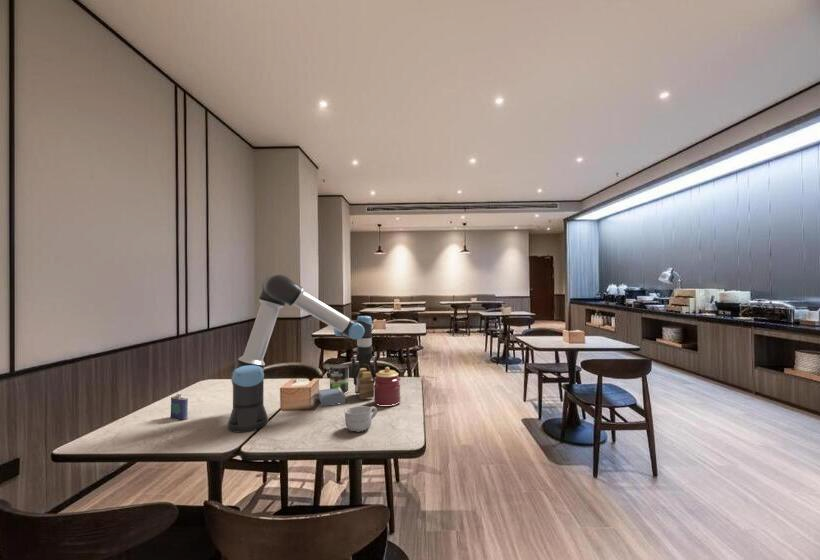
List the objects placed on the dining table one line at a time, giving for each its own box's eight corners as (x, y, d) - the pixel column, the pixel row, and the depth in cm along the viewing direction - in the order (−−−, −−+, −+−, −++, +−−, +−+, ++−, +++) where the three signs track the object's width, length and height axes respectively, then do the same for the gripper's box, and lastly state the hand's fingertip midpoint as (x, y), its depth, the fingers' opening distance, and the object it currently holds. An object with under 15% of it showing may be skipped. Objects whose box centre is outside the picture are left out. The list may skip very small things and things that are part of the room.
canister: (405, 401, 178) (405, 365, 179) (390, 409, 167) (390, 371, 168) (384, 397, 185) (384, 363, 186) (368, 404, 174) (368, 367, 175)
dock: (345, 403, 176) (345, 394, 176) (322, 406, 172) (322, 397, 172) (340, 395, 189) (340, 387, 189) (318, 398, 185) (318, 389, 185)
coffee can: (345, 395, 189) (345, 368, 190) (326, 394, 191) (326, 367, 191) (351, 389, 200) (351, 364, 200) (333, 389, 201) (333, 363, 202)
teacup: (349, 437, 136) (349, 415, 137) (341, 427, 146) (341, 407, 146) (383, 430, 143) (383, 409, 143) (373, 421, 152) (373, 402, 153)
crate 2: (371, 380, 182) (371, 372, 182) (363, 381, 180) (363, 373, 181) (369, 378, 186) (369, 371, 186) (361, 379, 184) (361, 371, 184)
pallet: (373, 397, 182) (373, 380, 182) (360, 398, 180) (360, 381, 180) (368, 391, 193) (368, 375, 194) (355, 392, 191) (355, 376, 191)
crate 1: (367, 377, 189) (367, 369, 189) (359, 377, 188) (359, 370, 188) (365, 375, 193) (365, 367, 193) (357, 376, 192) (358, 368, 192)
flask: (189, 418, 157) (189, 393, 157) (182, 421, 154) (182, 395, 154) (174, 416, 160) (174, 391, 160) (168, 418, 157) (168, 393, 158)
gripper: (380, 343, 194) (380, 386, 194) (343, 345, 187) (343, 390, 187) (384, 345, 187) (384, 390, 187) (346, 348, 180) (346, 394, 180)
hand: (364, 390), depth 187 cm, fingers closed on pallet, 7 cm apart
